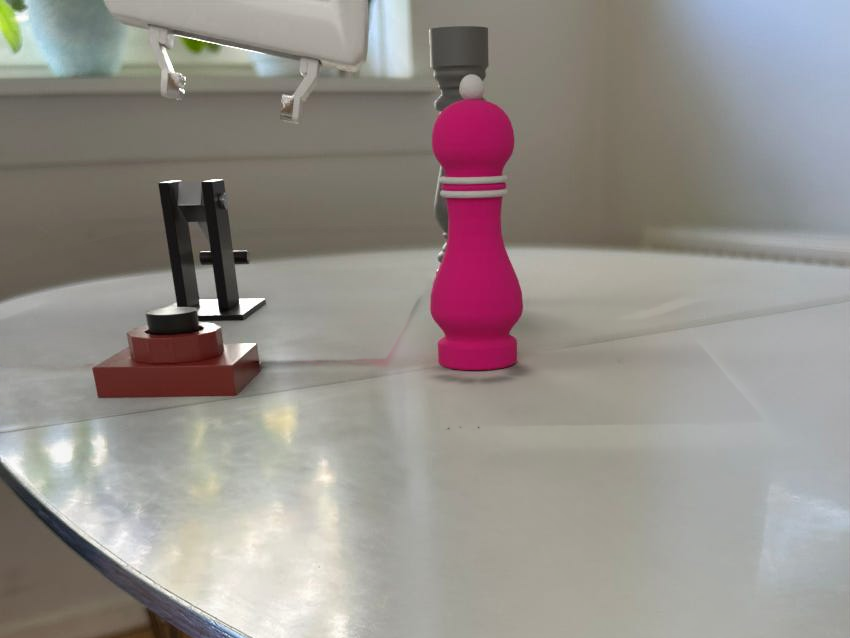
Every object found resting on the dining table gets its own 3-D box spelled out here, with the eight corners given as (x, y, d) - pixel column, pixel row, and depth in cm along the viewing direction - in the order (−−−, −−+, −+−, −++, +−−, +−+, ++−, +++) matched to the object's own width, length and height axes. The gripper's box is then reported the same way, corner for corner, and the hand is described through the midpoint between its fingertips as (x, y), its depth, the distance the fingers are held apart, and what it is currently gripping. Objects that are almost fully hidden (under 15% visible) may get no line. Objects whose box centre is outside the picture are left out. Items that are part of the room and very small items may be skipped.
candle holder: (459, 297, 110) (452, 33, 98) (506, 301, 107) (503, 28, 95) (425, 305, 105) (412, 29, 94) (472, 309, 102) (465, 24, 91)
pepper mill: (435, 354, 83) (424, 78, 73) (522, 352, 82) (522, 75, 73) (429, 373, 76) (415, 73, 67) (523, 371, 76) (523, 70, 67)
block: (97, 398, 71) (86, 341, 69) (134, 374, 78) (125, 321, 77) (236, 396, 71) (228, 338, 69) (260, 371, 78) (254, 318, 76)
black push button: (143, 340, 71) (138, 315, 71) (158, 331, 75) (154, 307, 74) (192, 339, 71) (188, 314, 71) (206, 330, 75) (202, 306, 74)
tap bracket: (181, 315, 103) (160, 179, 97) (267, 313, 103) (251, 177, 97) (150, 332, 94) (125, 184, 89) (244, 331, 94) (225, 182, 88)
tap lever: (202, 272, 104) (203, 250, 105) (249, 271, 104) (250, 249, 104) (162, 205, 92) (163, 181, 93) (216, 204, 92) (216, 180, 92)
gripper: (95, -139, 71) (86, 75, 76) (378, -76, 74) (353, 130, 78) (121, -108, 77) (111, 90, 82) (382, -49, 79) (358, 140, 84)
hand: (231, 110), depth 80 cm, fingers open, 8 cm apart
